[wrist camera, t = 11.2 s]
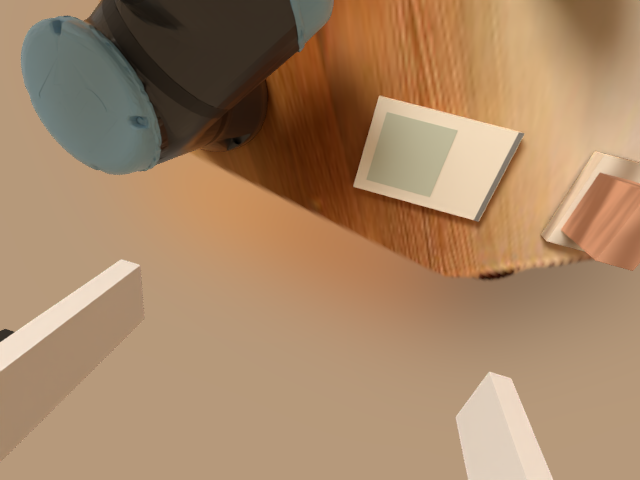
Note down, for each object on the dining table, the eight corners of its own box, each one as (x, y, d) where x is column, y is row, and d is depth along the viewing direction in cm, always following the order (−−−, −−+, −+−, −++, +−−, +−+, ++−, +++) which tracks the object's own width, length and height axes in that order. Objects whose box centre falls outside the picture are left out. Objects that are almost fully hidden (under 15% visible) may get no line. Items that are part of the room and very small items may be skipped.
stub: (540, 234, 44) (578, 273, 36) (594, 150, 39) (655, 172, 30) (579, 245, 44) (626, 287, 35) (639, 162, 38) (714, 187, 29)
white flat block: (354, 182, 46) (353, 186, 44) (379, 95, 40) (378, 96, 39) (475, 216, 45) (478, 221, 43) (518, 131, 39) (525, 133, 38)
